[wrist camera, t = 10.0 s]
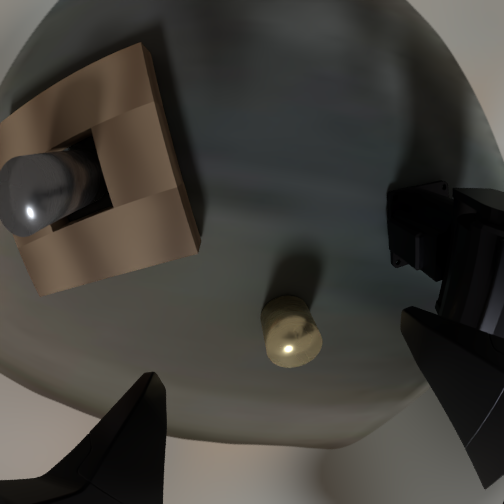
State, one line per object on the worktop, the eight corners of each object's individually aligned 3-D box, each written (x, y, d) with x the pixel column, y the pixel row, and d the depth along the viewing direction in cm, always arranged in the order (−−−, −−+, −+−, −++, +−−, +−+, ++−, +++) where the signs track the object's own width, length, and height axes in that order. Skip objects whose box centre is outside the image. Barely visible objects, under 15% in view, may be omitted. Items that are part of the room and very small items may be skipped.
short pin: (305, 289, 22) (319, 318, 18) (311, 328, 23) (324, 358, 20) (255, 302, 22) (261, 333, 18) (266, 340, 24) (272, 372, 20)
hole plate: (150, 53, 15) (140, 41, 12) (201, 240, 20) (198, 253, 17) (6, 132, 15) (-13, 134, 12) (53, 283, 20) (39, 296, 18)
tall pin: (117, 192, 18) (57, 222, 10) (74, 210, 18) (9, 246, 11) (101, 140, 17) (35, 141, 9) (59, 161, 17) (-12, 176, 9)
